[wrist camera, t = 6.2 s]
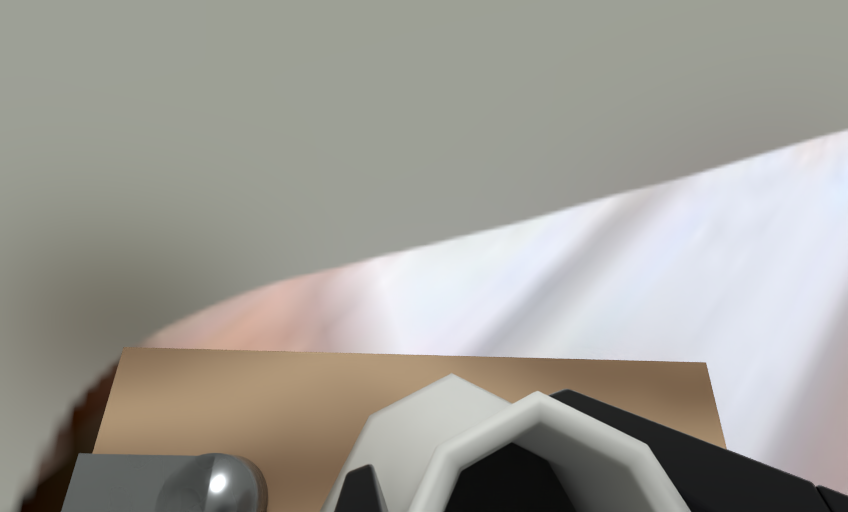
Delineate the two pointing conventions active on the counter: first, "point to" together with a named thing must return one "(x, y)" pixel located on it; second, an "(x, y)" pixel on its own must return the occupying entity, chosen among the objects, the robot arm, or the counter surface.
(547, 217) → the counter surface
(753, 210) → the counter surface
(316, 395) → the tan board
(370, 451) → the flask
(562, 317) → the counter surface
